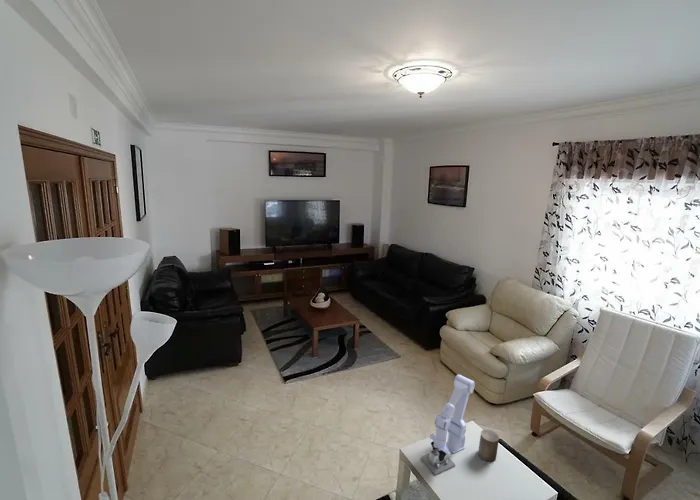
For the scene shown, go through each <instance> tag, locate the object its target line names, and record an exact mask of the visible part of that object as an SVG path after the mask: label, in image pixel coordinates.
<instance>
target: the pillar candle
mask: <svg viewBox="0 0 700 500" xmlns="http://www.w3.org/2000/svg"><path fill="white" fill-rule="evenodd" d="M499 439H500V436H499V434H498V433H497V432H496V431H495V430H492V429H490V428H483V429H482V430H481V431H480V437H479V444H478V451H477V452H478V456H479V457H480V459H482V460H483V461H484V462H488V463H493V462H495V461H496V459H497V455H498V449H499V448H498V447H499V441H500V440H499Z"/></svg>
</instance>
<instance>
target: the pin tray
mask: <svg viewBox="0 0 700 500" xmlns="http://www.w3.org/2000/svg"><path fill="white" fill-rule="evenodd" d="M420 459H421V461H422V462H423V463H424V464H425V466H426V467H427V468H428V469H429V470H430V471H431V473H433V474H432V475H434V476H438V475H440V474H442V473H444V472H446V471H448V470H450V469H452V468H454V467H456V464H455V463H454V461H452V459H451V458H450V456H448V460H446V461H444V462H442V463H439V464H437V465H435V466H433V465H432V464H431V463H430V462H429V453H428V454H426V455H423V456H421V458H420Z"/></svg>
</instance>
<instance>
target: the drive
mask: <svg viewBox="0 0 700 500" xmlns="http://www.w3.org/2000/svg"><path fill="white" fill-rule="evenodd" d="M438 451H440V449H439V448H437V449H435V450H433V449H432V450H430V451H429V453H428V454H429V462H430V463H431V464H432V465H433V466H435V465H437V464H439V463H442V462H444V461H446V460H448V457H449V456H448V457H447V455H446V456H445V457H444V459H443V461H440V460H439V452H438Z"/></svg>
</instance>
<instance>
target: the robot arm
mask: <svg viewBox="0 0 700 500" xmlns="http://www.w3.org/2000/svg"><path fill="white" fill-rule="evenodd" d="M453 381H454V382H453V386H454V389H453V391H452V394H451V396H450V398H449V400H448V401H449V402H446V403H444V406H443V407H442V410H441V412H440V413H439V414H438V415H437V416H436V417H435V420H434V425H435V434H434V433H432V434H429V439H431V440H432V441H431V443H430V445H431V447H432V450H435V449H437V448H439V449H440V451H438V452H439V460H440V461H443V459H444V457H445V456H446V455H447V457H450V456H451V454H455V453H457V452H460V451H461V450H465V449H466V446H465V444H466V442H465V441H466V435H465V434H466V431H467V429H466V428H467V424H466V422H465V421H464V415H465V412H466V408H467V404H468V400H469V397H470V394H471V395H472V394H474V389H475V385H476V384H475V380H472V379H470V378H468V377H465V376H463V375H461V374H460V373H459V374H457V375H455V377H454V380H453Z"/></svg>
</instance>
